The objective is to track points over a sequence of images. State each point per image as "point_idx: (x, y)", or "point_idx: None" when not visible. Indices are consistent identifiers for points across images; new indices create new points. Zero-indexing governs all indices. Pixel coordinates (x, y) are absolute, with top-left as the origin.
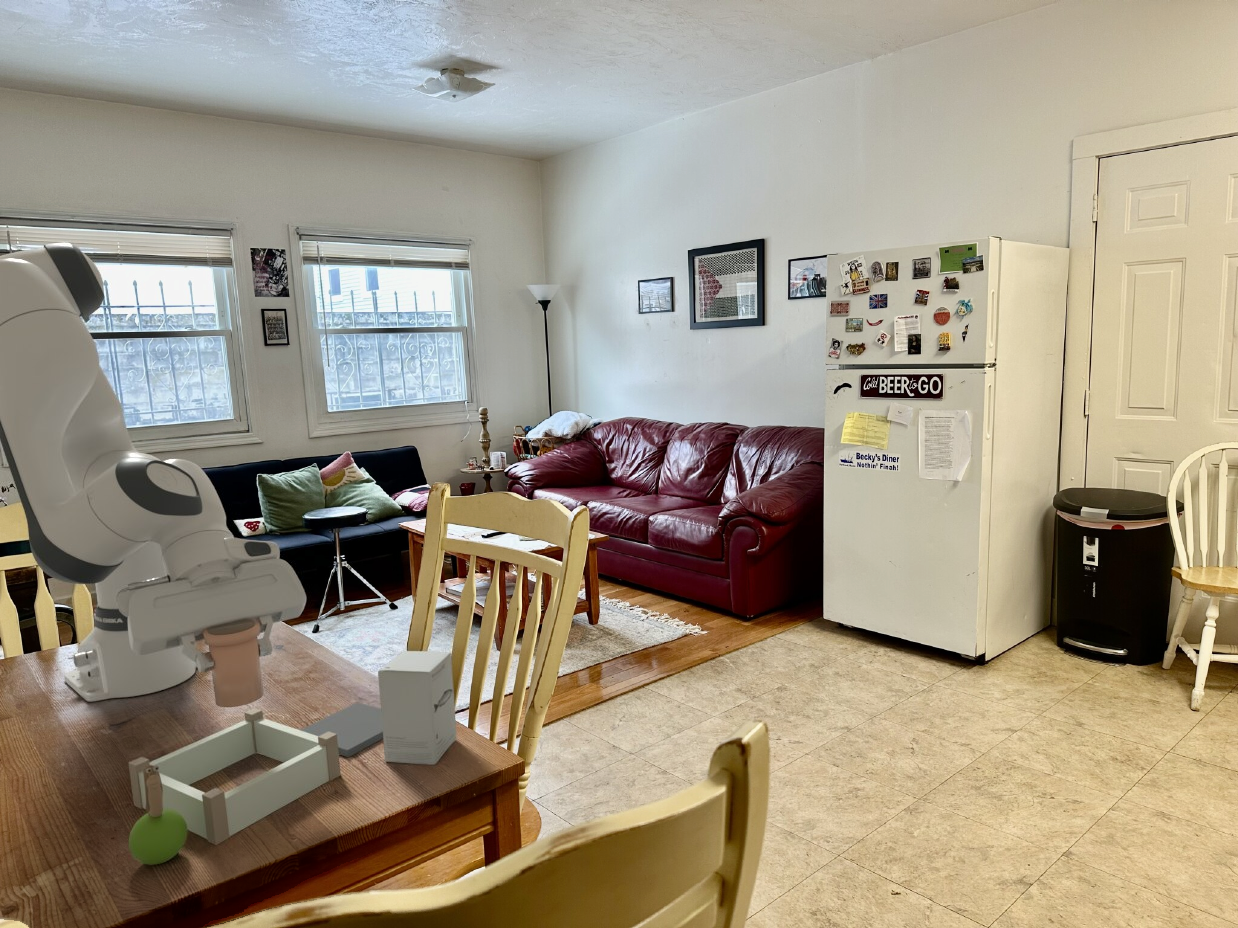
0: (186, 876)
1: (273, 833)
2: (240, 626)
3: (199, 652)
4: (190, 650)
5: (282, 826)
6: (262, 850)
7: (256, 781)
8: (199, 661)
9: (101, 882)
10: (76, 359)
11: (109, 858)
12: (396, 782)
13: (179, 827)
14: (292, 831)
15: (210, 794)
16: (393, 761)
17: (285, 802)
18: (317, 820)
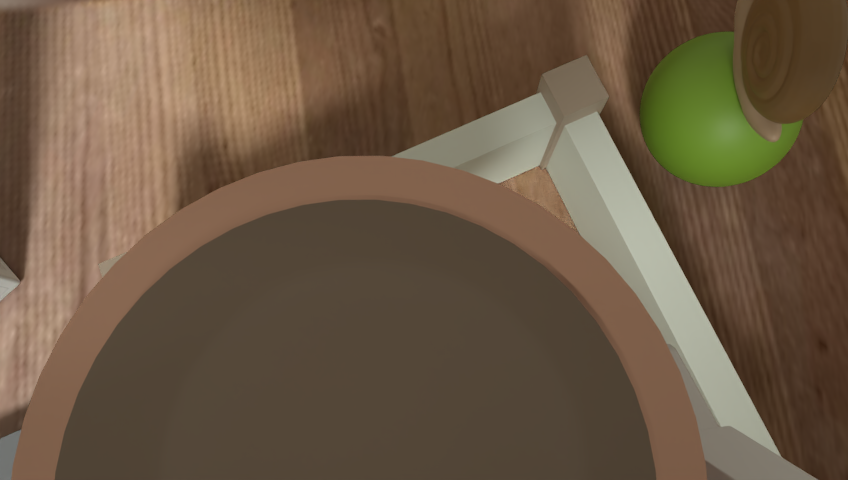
0: (638, 23)
1: (419, 85)
2: (259, 372)
3: (700, 434)
4: (794, 473)
5: (391, 104)
6: (459, 24)
7: (430, 147)
8: (687, 371)
9: (832, 123)
10: None
11: (823, 231)
12: (54, 138)
13: (669, 56)
14: (374, 64)
15: (584, 80)
16: (2, 260)
17: None
18: (305, 76)
